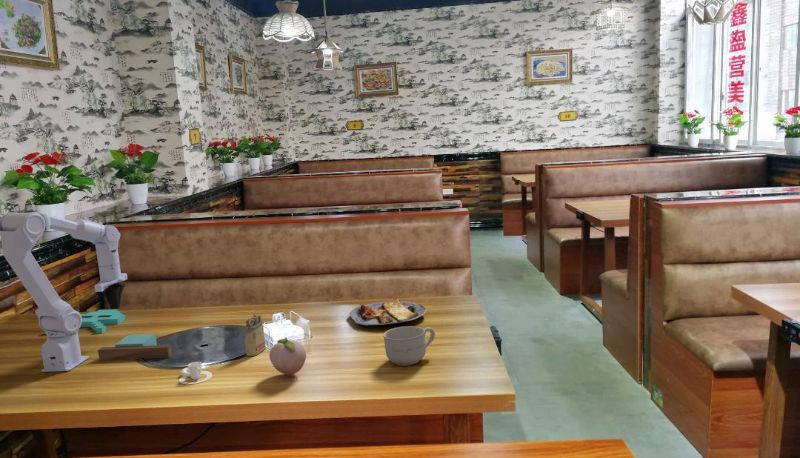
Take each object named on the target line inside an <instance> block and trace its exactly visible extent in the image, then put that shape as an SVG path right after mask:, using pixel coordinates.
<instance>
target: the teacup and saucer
mask: <svg viewBox="0 0 800 458" xmlns="http://www.w3.org/2000/svg"><path fill="white" fill-rule="evenodd" d="M180 374H181V377H180V378H179V380H178V382H179V383H180V384H182V385H198V384H201V383H203V382H206V381H208V380H210V379H211V378H212V377H213V373H212V372H210V371H208V370H202V362H201V361H193V362H190V363H188V365H187V367H185V368H183V369H181V370H180ZM203 374H204V375H205V376H206V377H204V379H202V380H199V379H201V378H202V375H203ZM186 378H190V379H192V380H194V381H195V380H199V381H195V382H194V381H193V382H188V381H186Z"/></svg>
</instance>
